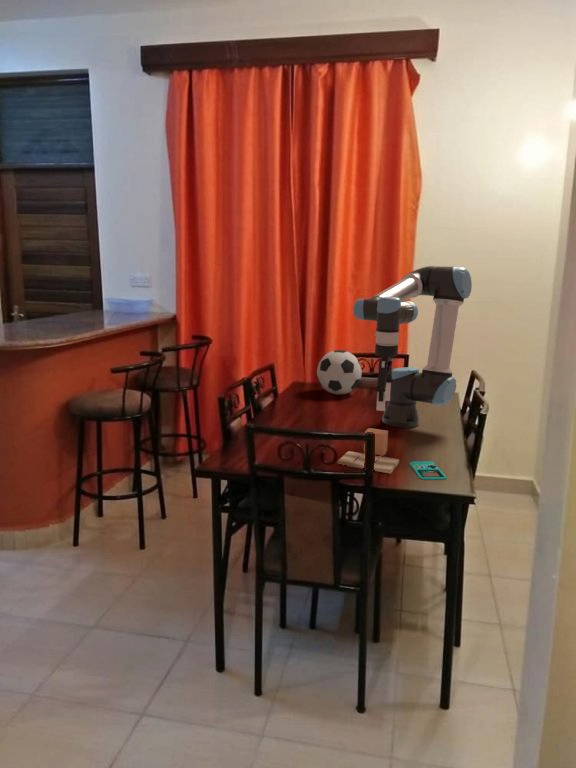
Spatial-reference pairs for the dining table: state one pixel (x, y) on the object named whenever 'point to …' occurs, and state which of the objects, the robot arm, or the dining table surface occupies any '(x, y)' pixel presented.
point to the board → (359, 459)
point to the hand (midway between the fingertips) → (383, 405)
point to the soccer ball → (339, 372)
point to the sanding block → (379, 441)
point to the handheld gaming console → (427, 466)
